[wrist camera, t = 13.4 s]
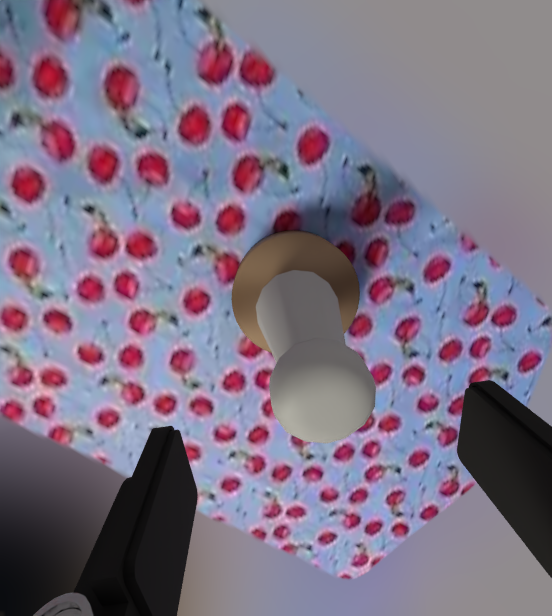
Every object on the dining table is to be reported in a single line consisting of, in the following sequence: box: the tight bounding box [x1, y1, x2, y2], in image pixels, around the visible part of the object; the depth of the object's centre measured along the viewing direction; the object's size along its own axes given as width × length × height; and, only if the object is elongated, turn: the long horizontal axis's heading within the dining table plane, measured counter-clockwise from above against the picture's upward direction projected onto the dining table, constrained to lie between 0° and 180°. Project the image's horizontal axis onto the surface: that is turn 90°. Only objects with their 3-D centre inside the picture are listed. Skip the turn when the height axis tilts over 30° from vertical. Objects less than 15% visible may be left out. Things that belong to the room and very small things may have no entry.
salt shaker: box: [256, 270, 376, 443], centre depth 17 cm, size 6×6×13 cm
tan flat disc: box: [232, 230, 360, 353], centre depth 25 cm, size 10×10×3 cm
